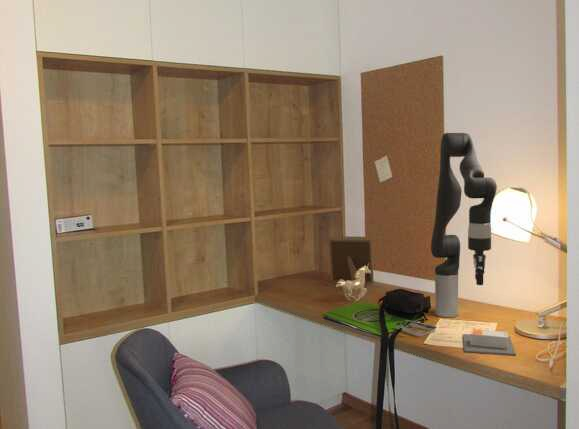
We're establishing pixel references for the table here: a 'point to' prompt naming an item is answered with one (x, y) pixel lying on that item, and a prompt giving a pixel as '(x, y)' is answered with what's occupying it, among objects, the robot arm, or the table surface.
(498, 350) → the charcoal mat
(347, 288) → the unicorn
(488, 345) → the skincare box
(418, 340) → the table surface
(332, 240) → the photo frame
